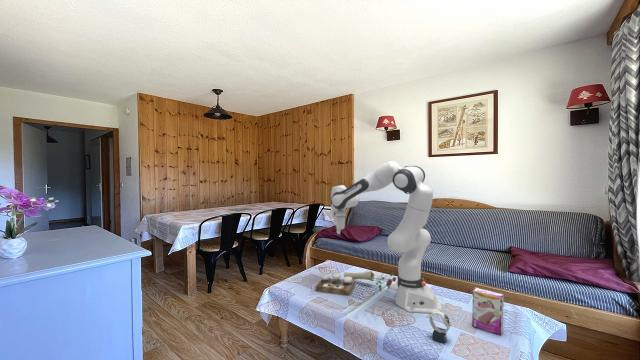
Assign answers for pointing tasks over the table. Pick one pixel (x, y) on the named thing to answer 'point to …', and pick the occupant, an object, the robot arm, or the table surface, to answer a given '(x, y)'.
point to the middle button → (336, 275)
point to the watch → (440, 333)
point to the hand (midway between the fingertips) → (338, 233)
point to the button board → (335, 286)
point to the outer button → (325, 277)
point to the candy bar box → (488, 311)
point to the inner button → (347, 279)
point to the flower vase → (371, 277)
